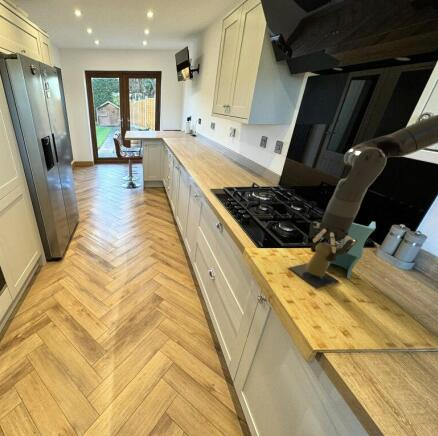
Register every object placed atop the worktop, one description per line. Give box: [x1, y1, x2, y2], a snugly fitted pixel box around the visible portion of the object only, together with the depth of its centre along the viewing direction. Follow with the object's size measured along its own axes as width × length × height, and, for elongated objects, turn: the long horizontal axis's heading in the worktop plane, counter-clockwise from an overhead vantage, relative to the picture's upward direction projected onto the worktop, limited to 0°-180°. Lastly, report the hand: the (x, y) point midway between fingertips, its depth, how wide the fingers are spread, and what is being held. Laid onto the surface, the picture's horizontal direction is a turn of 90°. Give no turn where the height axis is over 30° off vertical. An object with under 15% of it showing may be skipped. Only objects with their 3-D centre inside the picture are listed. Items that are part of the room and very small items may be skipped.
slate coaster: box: [288, 262, 340, 289], centre depth 85 cm, size 11×11×1 cm
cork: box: [305, 242, 332, 276], centre depth 81 cm, size 6×6×11 cm
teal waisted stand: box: [327, 220, 377, 279], centre depth 84 cm, size 8×8×20 cm
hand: (321, 255), depth 81 cm, fingers closed on cork, 5 cm apart
